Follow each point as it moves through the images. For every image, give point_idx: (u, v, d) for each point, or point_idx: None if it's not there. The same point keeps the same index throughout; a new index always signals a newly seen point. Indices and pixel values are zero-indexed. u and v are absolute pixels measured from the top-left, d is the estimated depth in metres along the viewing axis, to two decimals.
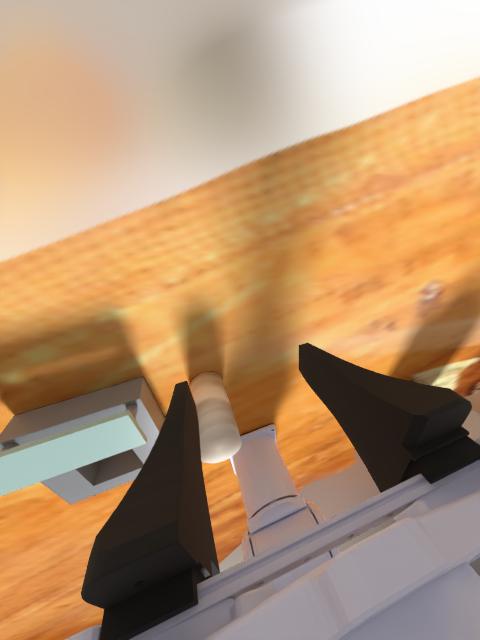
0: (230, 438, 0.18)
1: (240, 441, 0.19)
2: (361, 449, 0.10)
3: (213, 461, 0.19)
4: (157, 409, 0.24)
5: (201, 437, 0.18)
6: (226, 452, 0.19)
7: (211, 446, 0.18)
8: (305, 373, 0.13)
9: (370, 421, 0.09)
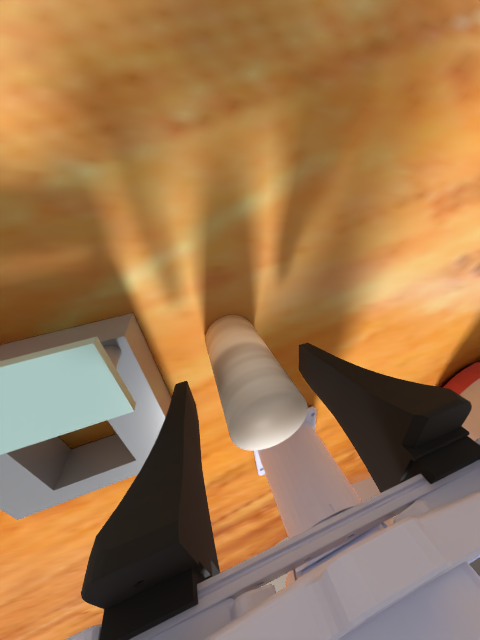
0: (290, 402, 0.10)
1: (305, 410, 0.10)
2: (361, 449, 0.10)
3: (255, 447, 0.11)
4: (155, 370, 0.15)
5: (237, 399, 0.10)
6: (279, 430, 0.11)
7: (255, 415, 0.09)
8: (305, 373, 0.13)
9: (370, 421, 0.09)
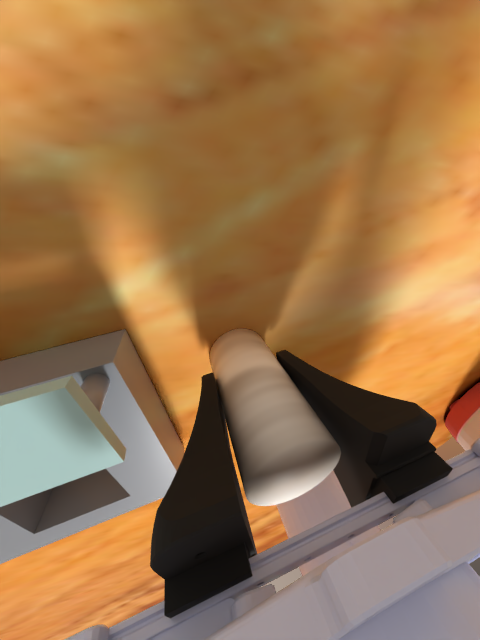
0: (322, 451, 0.08)
1: (337, 457, 0.08)
2: None
3: (275, 501, 0.09)
4: (152, 394, 0.13)
5: (254, 448, 0.08)
6: (304, 481, 0.09)
7: (278, 469, 0.07)
8: None
9: (338, 434, 0.08)
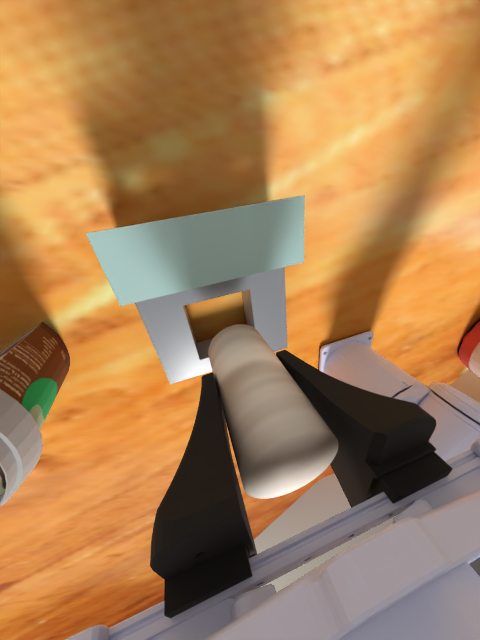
0: (320, 443, 0.08)
1: (335, 451, 0.08)
2: (333, 461, 0.10)
3: (270, 494, 0.09)
4: None
5: (254, 438, 0.08)
6: (302, 474, 0.09)
7: (277, 459, 0.07)
8: None
9: (338, 434, 0.08)
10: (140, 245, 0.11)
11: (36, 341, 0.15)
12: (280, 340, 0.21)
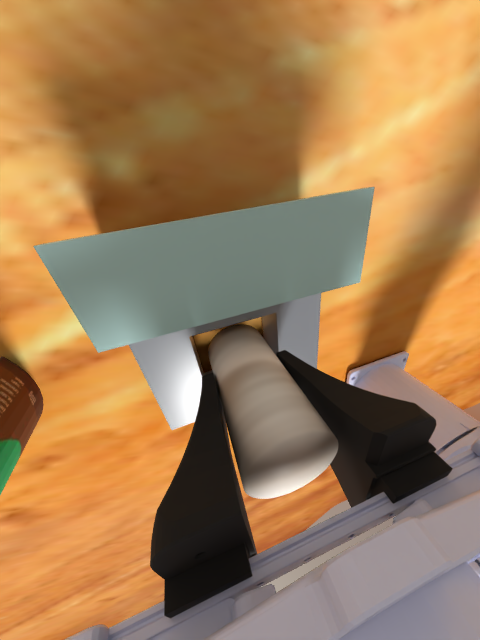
0: (320, 443, 0.08)
1: (335, 451, 0.08)
2: (333, 461, 0.10)
3: (270, 494, 0.09)
4: None
5: (254, 438, 0.08)
6: (301, 474, 0.09)
7: (277, 460, 0.07)
8: None
9: (338, 434, 0.08)
10: (126, 263, 0.07)
11: None
12: None
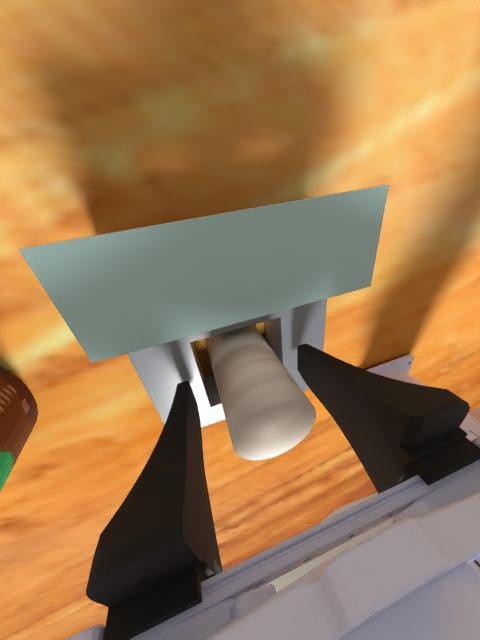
0: (299, 410, 0.09)
1: (313, 419, 0.10)
2: (359, 449, 0.10)
3: (257, 456, 0.10)
4: None
5: (242, 404, 0.09)
6: (284, 439, 0.10)
7: (261, 423, 0.09)
8: (304, 374, 0.13)
9: (368, 422, 0.09)
10: (122, 268, 0.06)
11: None
12: None
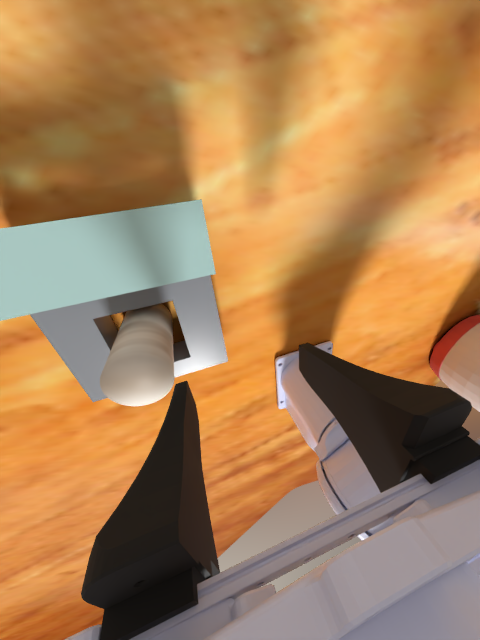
0: (154, 365, 0.12)
1: (171, 374, 0.13)
2: (361, 449, 0.10)
3: (130, 402, 0.13)
4: None
5: (108, 359, 0.12)
6: (150, 389, 0.13)
7: (122, 372, 0.12)
8: (305, 373, 0.13)
9: (370, 421, 0.09)
10: None
11: None
12: (219, 354, 0.19)
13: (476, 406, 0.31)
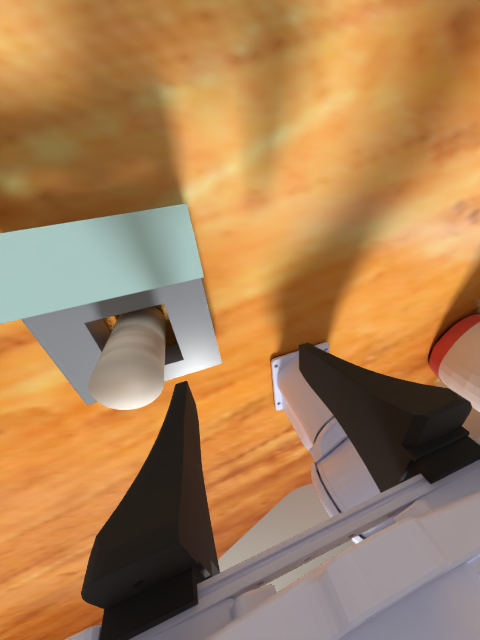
0: (143, 368, 0.12)
1: (161, 377, 0.13)
2: (361, 449, 0.10)
3: (120, 406, 0.13)
4: None
5: (97, 364, 0.12)
6: (140, 393, 0.13)
7: (110, 377, 0.12)
8: (305, 373, 0.13)
9: (370, 421, 0.09)
10: None
11: None
12: (212, 356, 0.19)
13: (476, 406, 0.31)
